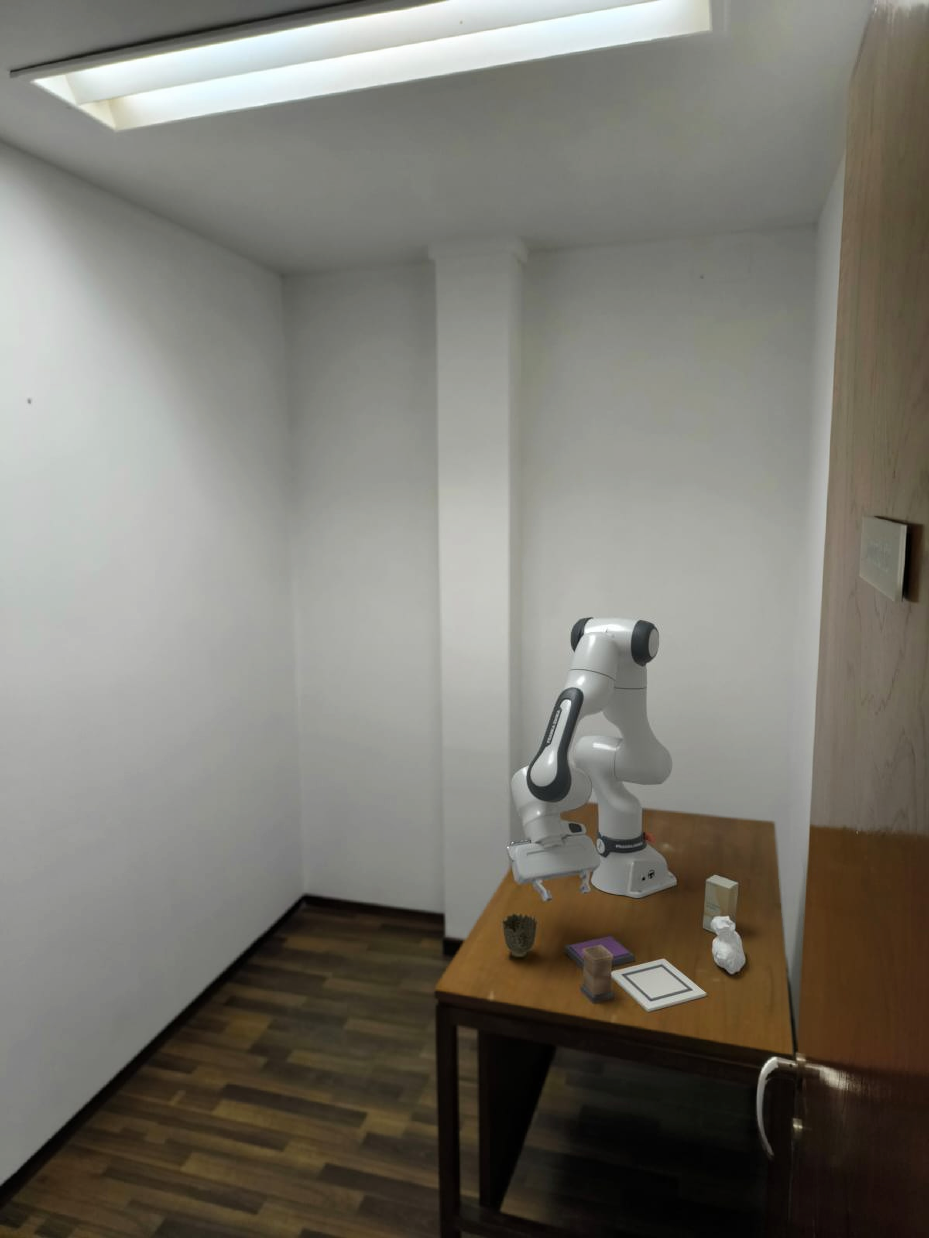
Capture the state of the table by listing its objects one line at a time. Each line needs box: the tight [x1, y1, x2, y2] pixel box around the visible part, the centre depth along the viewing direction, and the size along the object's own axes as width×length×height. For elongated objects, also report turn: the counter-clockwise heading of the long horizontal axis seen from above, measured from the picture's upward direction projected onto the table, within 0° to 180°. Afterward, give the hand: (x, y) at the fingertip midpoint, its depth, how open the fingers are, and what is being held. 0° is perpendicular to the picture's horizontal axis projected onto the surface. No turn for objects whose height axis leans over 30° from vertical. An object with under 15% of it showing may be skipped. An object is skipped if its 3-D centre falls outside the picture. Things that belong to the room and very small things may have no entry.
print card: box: [611, 958, 707, 1013], centre depth 167 cm, size 14×14×1 cm
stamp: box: [579, 945, 615, 1004], centre depth 163 cm, size 5×5×9 cm
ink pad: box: [564, 935, 635, 971], centre depth 178 cm, size 12×9×2 cm
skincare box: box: [702, 874, 740, 935], centre depth 188 cm, size 6×4×12 cm
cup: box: [502, 913, 538, 960], centre depth 178 cm, size 8×7×8 cm
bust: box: [711, 916, 746, 975], centre depth 175 cm, size 12×8×11 cm
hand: (567, 896), depth 173 cm, fingers open, 8 cm apart
